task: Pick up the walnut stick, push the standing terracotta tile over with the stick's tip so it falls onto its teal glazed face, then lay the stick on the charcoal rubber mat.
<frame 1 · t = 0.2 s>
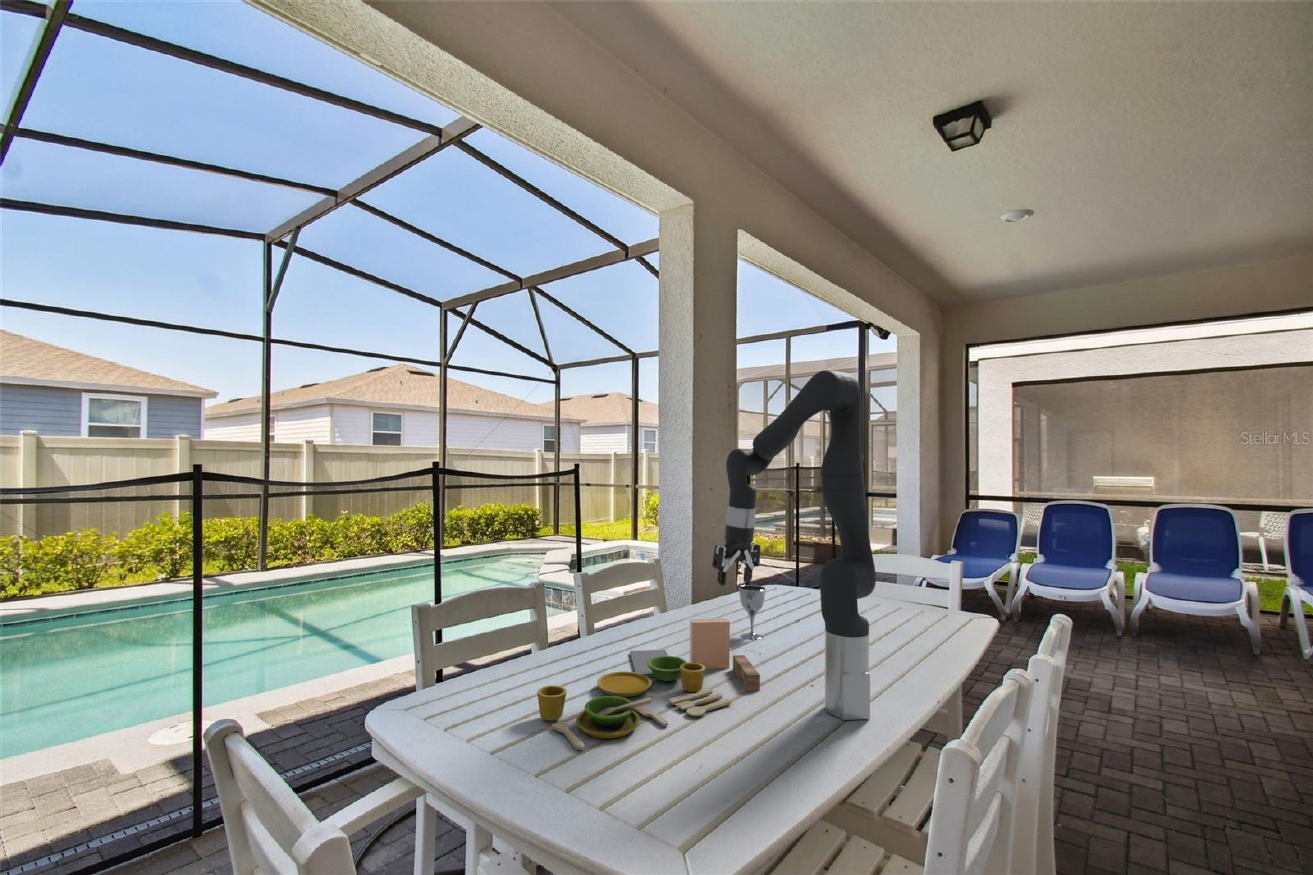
hand: (734, 583, 157), 22 cm above the table, tool pointing down, fingers open, 8 cm apart
rubber mat: (651, 664, 156), on the table
wine glass: (751, 637, 182), on the table
walnut stick: (745, 680, 146), on the table
tableware set: (629, 703, 130), on the table, touching rubber mat
terracotta tile: (709, 666, 155), on the table
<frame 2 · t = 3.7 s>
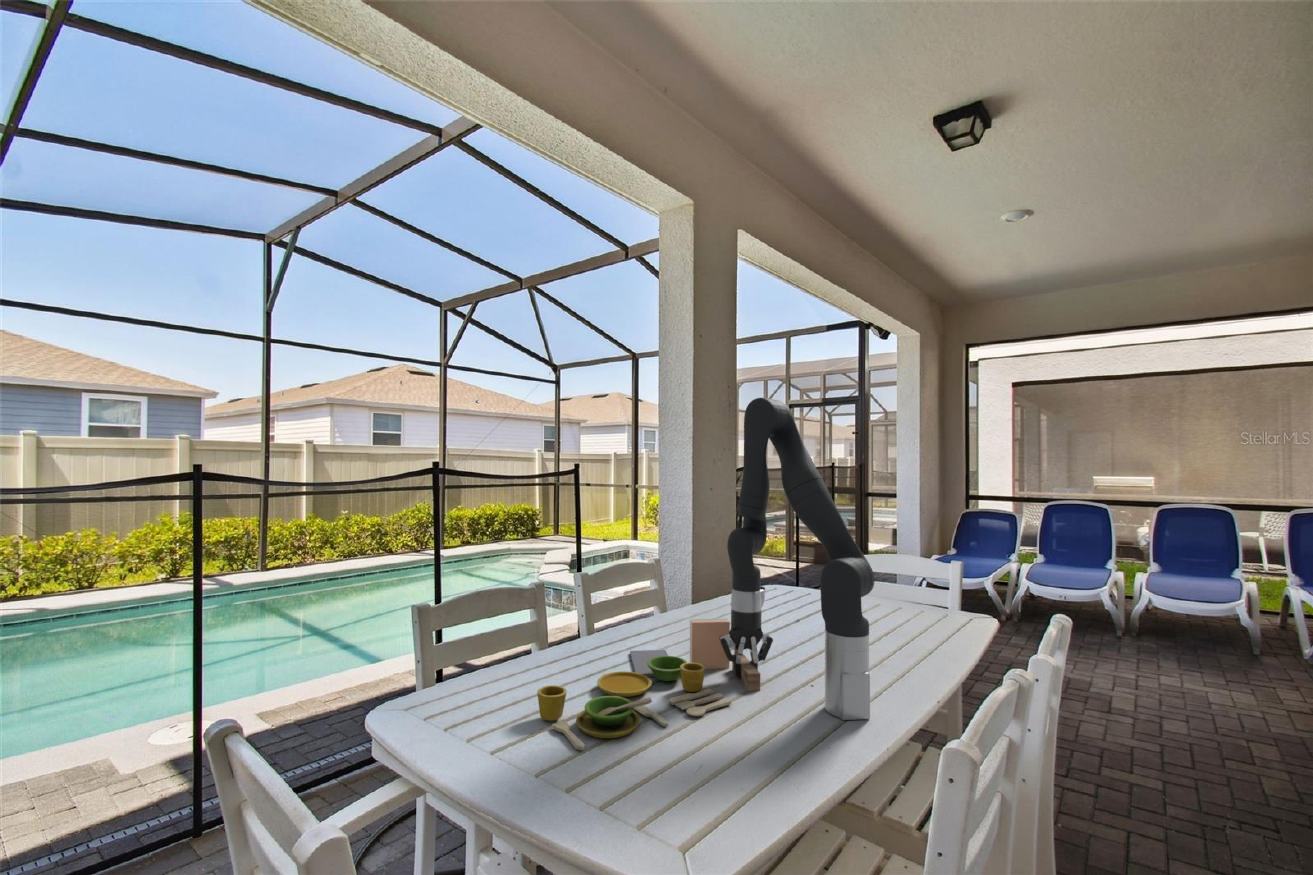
hand: (745, 677, 146), 1 cm above the table, tool pointing down, fingers closed on walnut stick, 3 cm apart
walnut stick: (745, 680, 146), on the table, touching gripper
everything else where it was.
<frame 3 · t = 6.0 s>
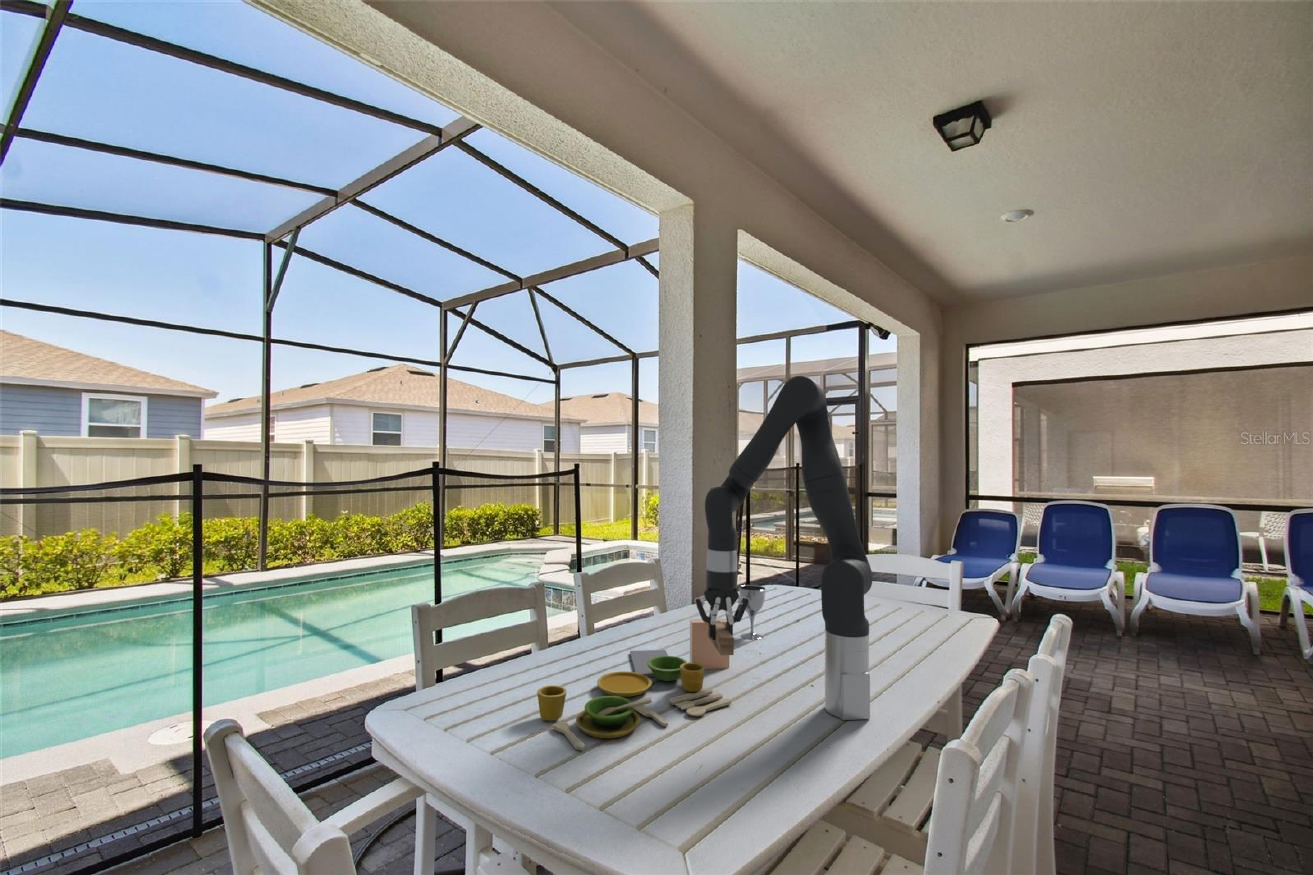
hand: (720, 638, 143), 11 cm above the table, tool pointing down, fingers closed on walnut stick, 3 cm apart
walnut stick: (720, 645, 143), point 9 cm above the table, touching gripper
everything else where it was.
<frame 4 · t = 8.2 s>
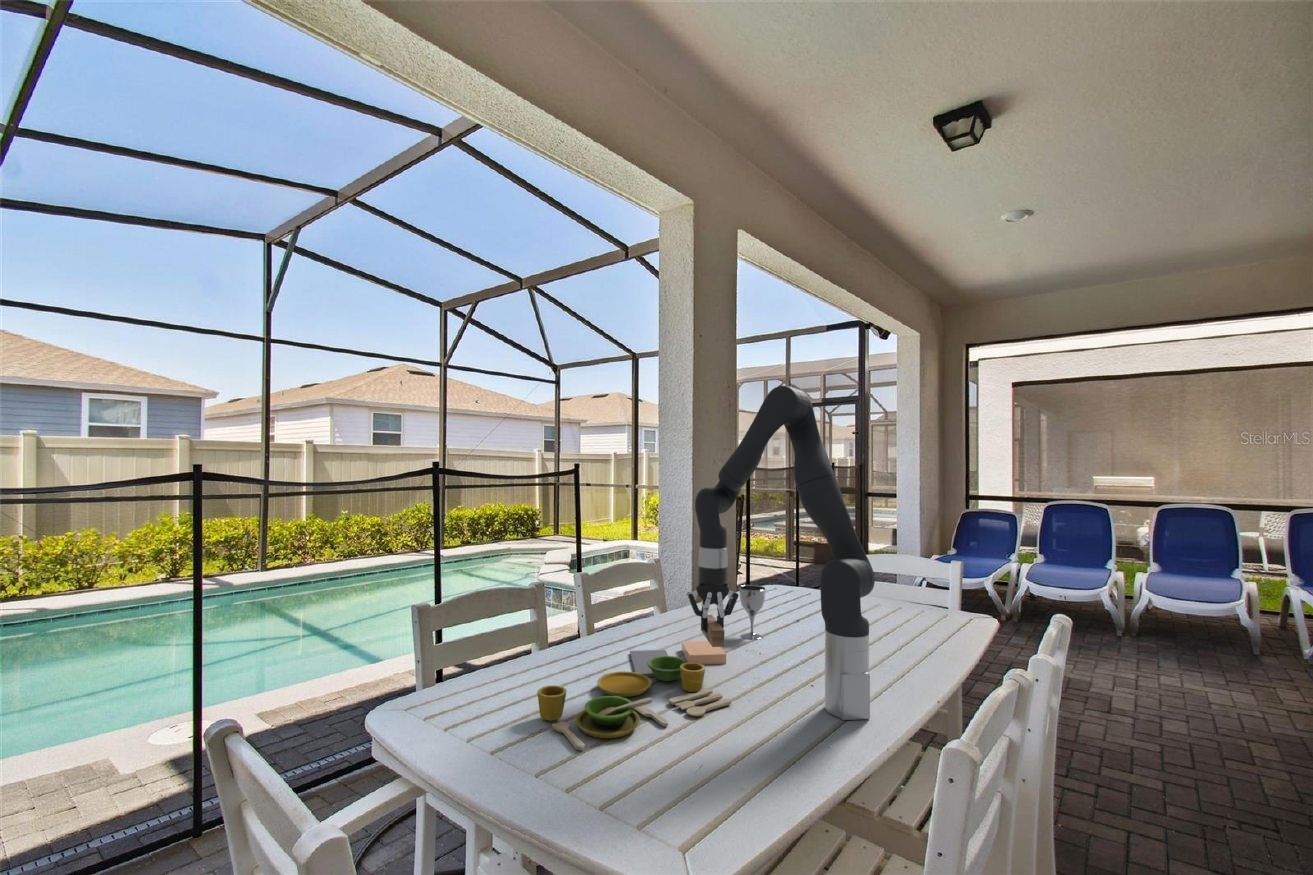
hand: (712, 631, 152), 10 cm above the table, tool pointing down, fingers closed on walnut stick, 3 cm apart
walnut stick: (712, 638, 152), point 8 cm above the table, touching gripper
terracotta tile: (708, 660, 157), point 1 cm above the table, tilted 90°
everything else where it was.
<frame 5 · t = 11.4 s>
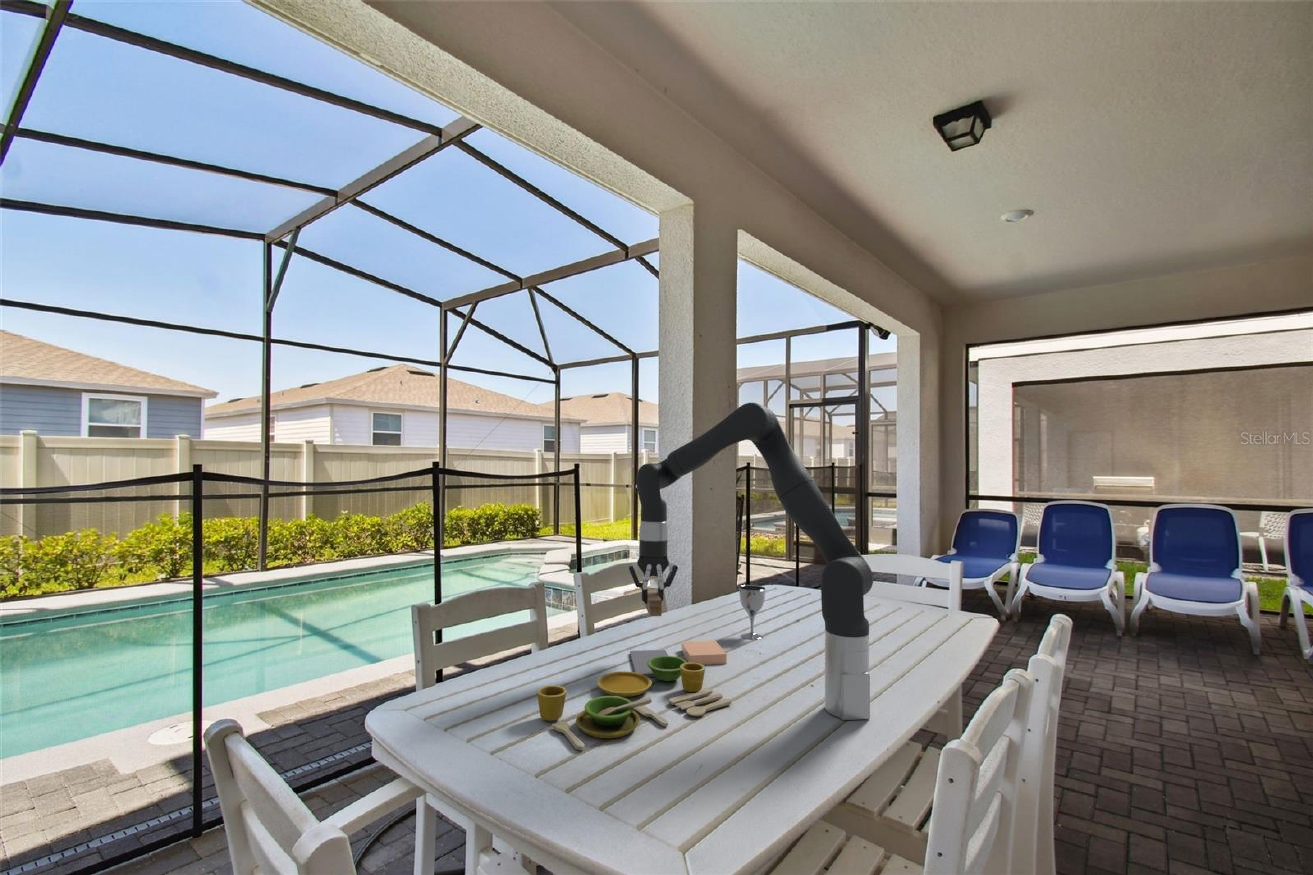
hand: (652, 602, 157), 16 cm above the table, tool pointing down, fingers closed on walnut stick, 3 cm apart
walnut stick: (652, 609, 157), point 15 cm above the table, touching gripper
everything else where it was.
when the fingers open (3 cm above the table, at t = 13.9 s): walnut stick stays where it is, resting on rubber mat, tableware set.
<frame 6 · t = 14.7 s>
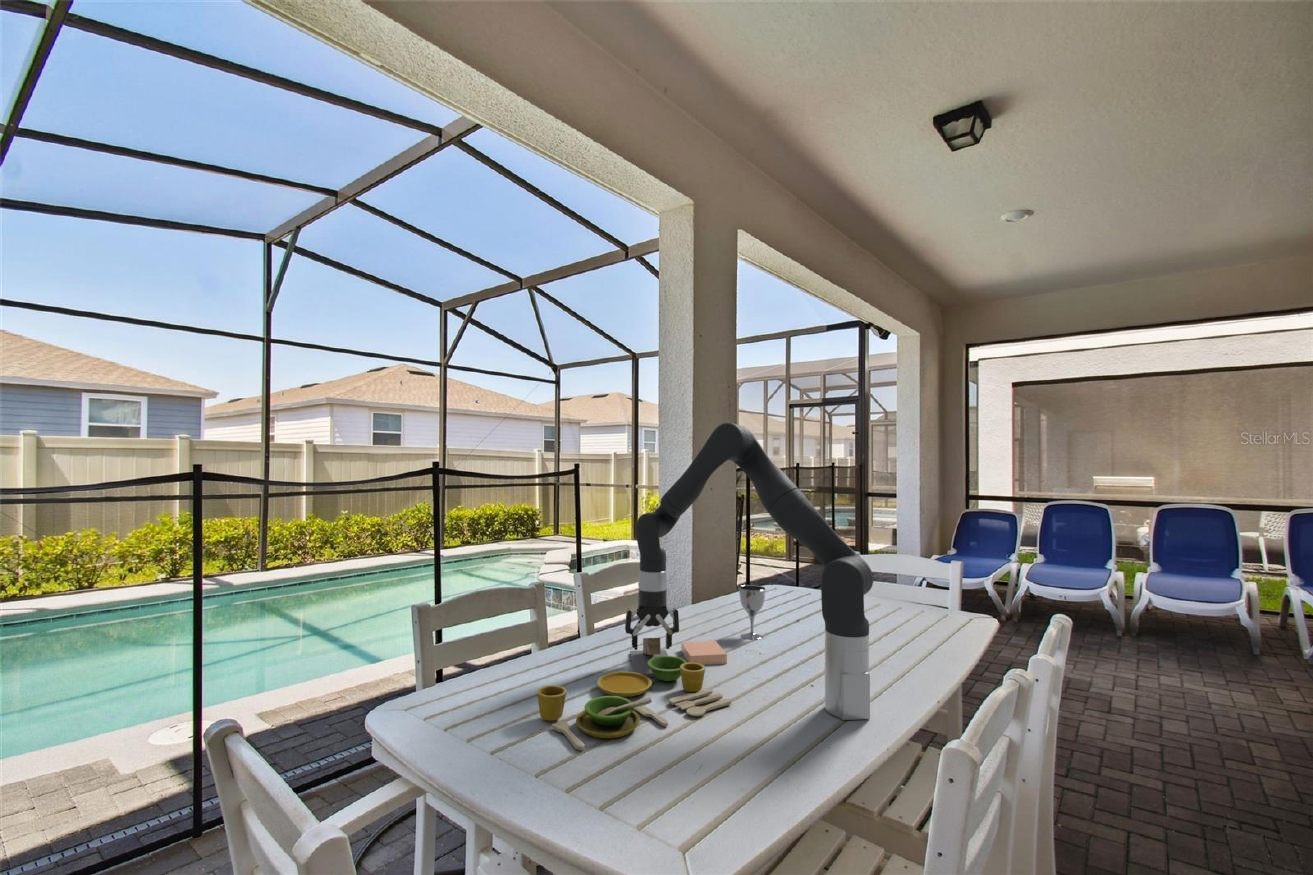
hand: (651, 648, 156), 4 cm above the table, tool pointing down, fingers open, 8 cm apart
walnut stick: (651, 653, 156), point 3 cm above the table, tilted 17°, touching rubber mat, tableware set
tableware set: (629, 703, 130), on the table, touching rubber mat, walnut stick
everything else where it was.
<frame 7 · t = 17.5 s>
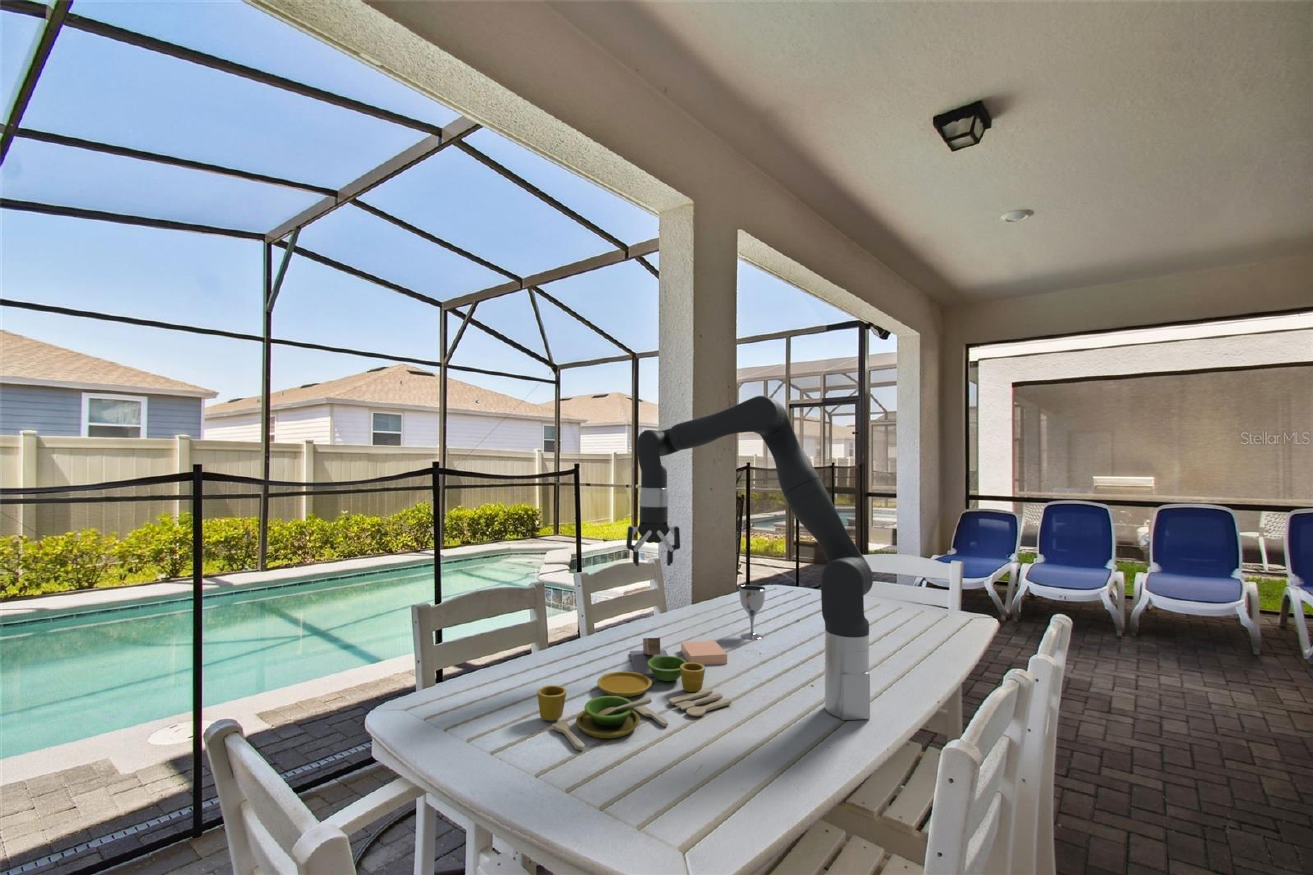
hand: (652, 565, 157), 26 cm above the table, tool pointing down, fingers open, 8 cm apart
nothing on the table moved.
at the end: terracotta tile tilted 90°; terracotta tile inside the target area (1.2 cm from its centre), point 1.0 cm above the table; walnut stick inside the target area on the rubber mat (0.3 cm from its centre), point 2.8 cm above the rubber mat's base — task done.
